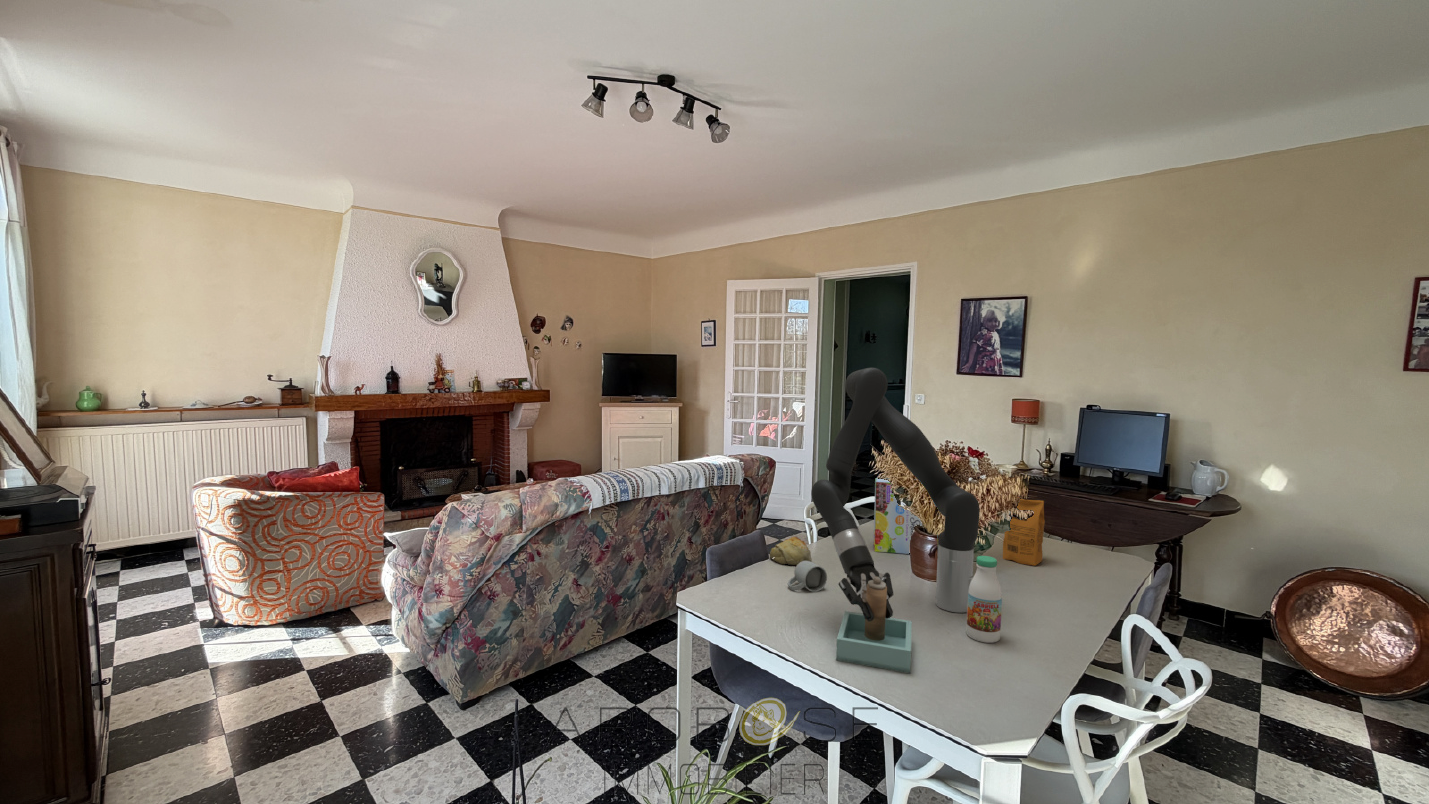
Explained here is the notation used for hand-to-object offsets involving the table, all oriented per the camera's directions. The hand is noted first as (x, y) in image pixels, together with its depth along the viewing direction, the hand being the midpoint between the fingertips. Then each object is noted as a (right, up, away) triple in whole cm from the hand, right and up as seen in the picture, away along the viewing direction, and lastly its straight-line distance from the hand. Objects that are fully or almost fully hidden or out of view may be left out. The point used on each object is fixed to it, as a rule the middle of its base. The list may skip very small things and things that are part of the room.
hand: (880, 618), depth 137 cm
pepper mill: (-1, -5, +2) cm, 5 cm away
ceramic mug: (-11, -6, +40) cm, 42 cm away
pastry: (-12, -4, +64) cm, 66 cm away
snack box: (+30, -4, +76) cm, 82 cm away
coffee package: (+68, -5, +68) cm, 97 cm away
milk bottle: (+28, -9, +10) cm, 31 cm away
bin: (-1, -8, +2) cm, 9 cm away
